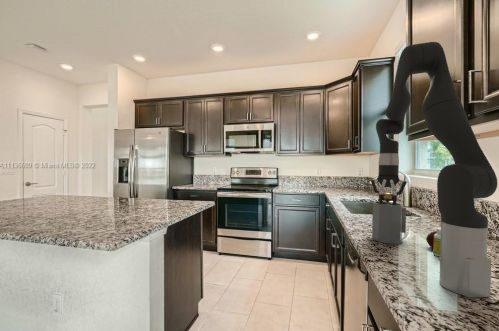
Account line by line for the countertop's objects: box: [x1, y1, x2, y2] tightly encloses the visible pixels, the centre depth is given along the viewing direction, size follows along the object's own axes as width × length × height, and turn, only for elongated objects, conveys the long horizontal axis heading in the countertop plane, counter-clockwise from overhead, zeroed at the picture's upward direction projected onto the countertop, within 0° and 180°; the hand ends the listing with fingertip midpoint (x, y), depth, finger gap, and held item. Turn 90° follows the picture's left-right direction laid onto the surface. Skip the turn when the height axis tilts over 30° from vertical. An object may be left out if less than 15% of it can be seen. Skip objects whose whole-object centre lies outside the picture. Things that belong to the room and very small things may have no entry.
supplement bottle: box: [432, 227, 441, 258], centre depth 87 cm, size 5×5×10 cm
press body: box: [371, 200, 407, 245], centre depth 104 cm, size 11×14×16 cm
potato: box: [426, 230, 437, 249], centre depth 94 cm, size 7×8×7 cm
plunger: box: [382, 192, 393, 205], centre depth 104 cm, size 8×8×18 cm
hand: (387, 203), depth 104 cm, fingers closed on plunger, 4 cm apart
